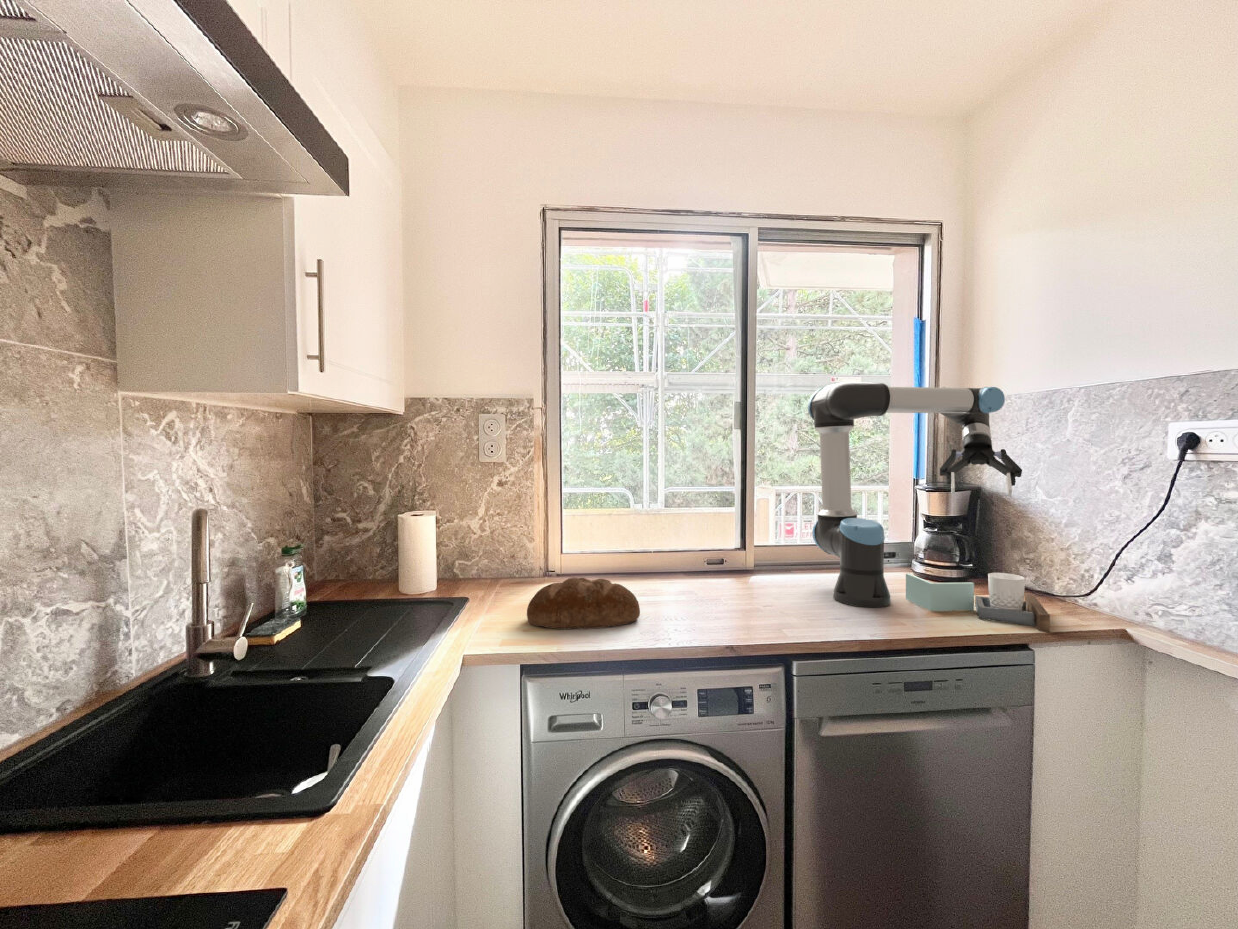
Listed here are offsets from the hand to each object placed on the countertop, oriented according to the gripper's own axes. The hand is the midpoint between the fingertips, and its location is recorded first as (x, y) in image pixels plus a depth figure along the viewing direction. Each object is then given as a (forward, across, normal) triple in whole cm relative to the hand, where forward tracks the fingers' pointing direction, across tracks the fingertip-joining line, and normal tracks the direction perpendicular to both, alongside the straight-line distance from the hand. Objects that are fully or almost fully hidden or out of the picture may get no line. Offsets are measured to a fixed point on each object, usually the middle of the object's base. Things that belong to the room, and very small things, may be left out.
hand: (980, 492), depth 152 cm
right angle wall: (+29, +10, -16) cm, 35 cm away
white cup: (+32, -5, -12) cm, 34 cm away
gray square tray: (+32, -4, -13) cm, 35 cm away
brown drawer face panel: (+32, -11, -13) cm, 36 cm away
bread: (+73, +91, +27) cm, 120 cm away
